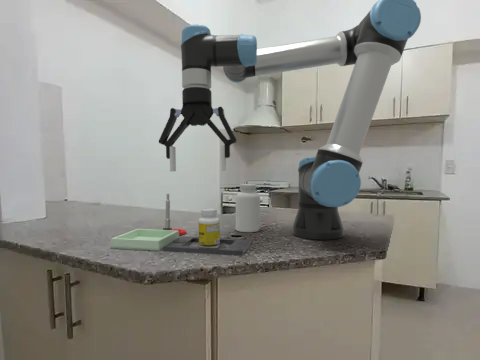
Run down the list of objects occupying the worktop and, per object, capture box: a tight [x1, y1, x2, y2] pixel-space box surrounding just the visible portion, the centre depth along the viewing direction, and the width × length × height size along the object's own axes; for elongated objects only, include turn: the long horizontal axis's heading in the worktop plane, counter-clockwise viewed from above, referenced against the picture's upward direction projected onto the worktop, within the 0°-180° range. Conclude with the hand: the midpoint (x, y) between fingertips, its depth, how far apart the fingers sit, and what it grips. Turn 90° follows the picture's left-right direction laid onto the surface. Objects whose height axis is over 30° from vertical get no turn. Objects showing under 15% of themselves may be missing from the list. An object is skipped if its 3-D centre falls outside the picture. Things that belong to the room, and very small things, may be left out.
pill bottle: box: [235, 183, 261, 233], centre depth 104 cm, size 8×8×15 cm
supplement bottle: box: [198, 207, 221, 248], centre depth 83 cm, size 5×5×10 cm
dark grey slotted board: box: [162, 235, 252, 256], centre depth 83 cm, size 20×12×1 cm, turn 78°
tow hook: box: [162, 193, 187, 236], centre depth 99 cm, size 8×13×9 cm
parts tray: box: [110, 228, 180, 252], centre depth 86 cm, size 13×13×2 cm
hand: (198, 171), depth 84 cm, fingers open, 13 cm apart
